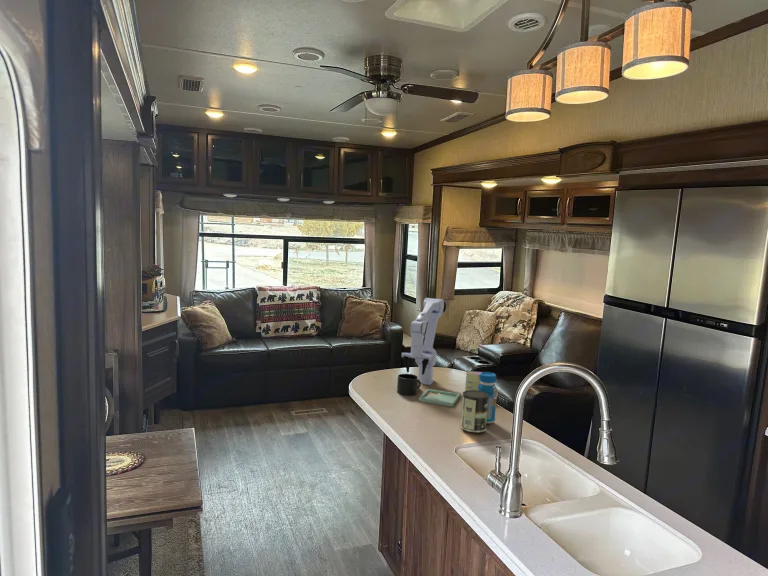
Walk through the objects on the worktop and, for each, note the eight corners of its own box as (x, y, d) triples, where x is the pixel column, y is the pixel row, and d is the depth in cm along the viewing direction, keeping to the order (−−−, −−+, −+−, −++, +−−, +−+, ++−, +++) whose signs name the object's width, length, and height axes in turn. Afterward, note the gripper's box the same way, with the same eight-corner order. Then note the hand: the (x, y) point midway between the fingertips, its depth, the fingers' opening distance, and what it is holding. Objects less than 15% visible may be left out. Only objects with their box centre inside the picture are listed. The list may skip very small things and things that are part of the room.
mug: (424, 396, 245) (425, 378, 244) (401, 398, 241) (402, 379, 240) (416, 390, 254) (417, 372, 253) (393, 392, 249) (394, 374, 249)
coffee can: (486, 424, 212) (488, 391, 210) (486, 434, 201) (488, 399, 200) (461, 421, 214) (463, 388, 212) (459, 430, 203) (462, 396, 202)
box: (486, 395, 251) (487, 372, 250) (487, 399, 246) (489, 375, 244) (464, 394, 252) (466, 370, 251) (465, 397, 247) (467, 373, 245)
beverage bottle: (480, 424, 212) (483, 376, 210) (471, 417, 220) (474, 371, 218) (498, 423, 214) (502, 376, 212) (489, 416, 222) (492, 371, 220)
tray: (427, 392, 252) (427, 388, 252) (459, 397, 247) (459, 393, 246) (418, 401, 237) (418, 398, 237) (452, 407, 232) (452, 403, 231)
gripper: (400, 345, 248) (398, 373, 249) (429, 349, 243) (427, 377, 244) (404, 342, 254) (403, 369, 256) (433, 346, 250) (431, 373, 251)
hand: (415, 373), depth 250 cm, fingers open, 7 cm apart
